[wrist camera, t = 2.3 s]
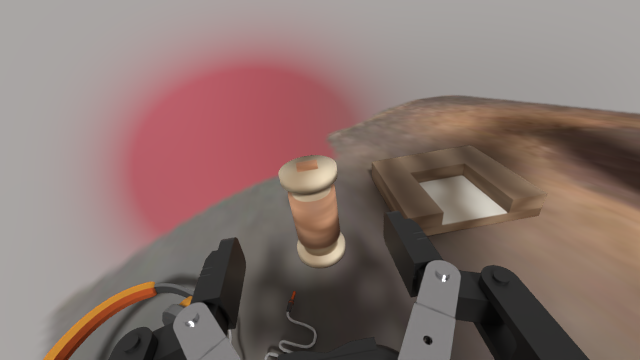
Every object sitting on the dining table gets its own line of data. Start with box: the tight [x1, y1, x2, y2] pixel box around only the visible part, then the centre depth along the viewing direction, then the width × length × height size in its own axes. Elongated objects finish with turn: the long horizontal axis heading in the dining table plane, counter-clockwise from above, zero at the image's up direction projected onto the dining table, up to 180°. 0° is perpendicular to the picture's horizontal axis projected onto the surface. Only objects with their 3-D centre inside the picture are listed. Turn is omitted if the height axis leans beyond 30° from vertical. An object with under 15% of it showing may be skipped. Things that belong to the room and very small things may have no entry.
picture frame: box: [372, 145, 548, 236], centre depth 35 cm, size 16×14×3 cm
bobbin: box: [279, 155, 345, 268], centre depth 27 cm, size 6×6×12 cm
